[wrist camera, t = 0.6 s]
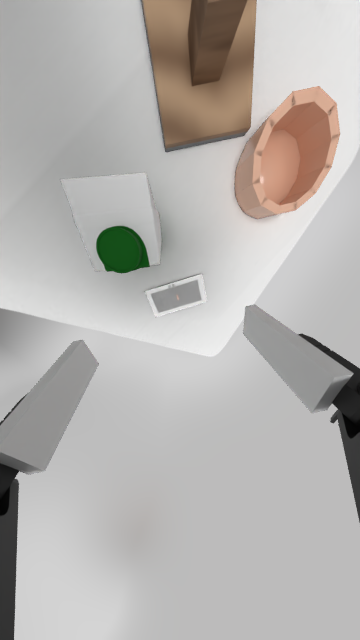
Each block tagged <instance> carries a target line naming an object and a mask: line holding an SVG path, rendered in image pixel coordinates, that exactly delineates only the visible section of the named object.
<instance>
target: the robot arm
mask: <svg viewBox="0 0 360 640" xmlns="http://www.w3.org/2000/svg"><path fill="white" fill-rule="evenodd" d="M243 334H244V335H245V337H246V338H247V339H248V340H249V341H250V342H251V344H252V345H253V346H254V347H255V348H256V349H257V350H258V352H259V353H260V354H261V355H262V356H263V357H264V359H265V360H266V361H267V362H268V363H269V364H270V365H271V366H272V368H273V369H274V370H275V371H276V372H277V374H278V375H279V376H280V377H281V378H282V379H283V381H284V382H285V383H286V384H287V385H288V386H289V387H290V389H291V390H292V391H293V392H294V393H295V394H296V396H297V397H298V398H299V399H300V400H301V401H302V403H303V404H304V405H305V406H306V407H307V408H308V409H309V411H310V412H311V413H315V412H320V411H325V410H327V409H328V408H329V406H330V405H331V404H334V405H335V406H336V407H337V408H338V410H337V411H336V412H335V413H334V415H333V416H332V417H331V421H330V422H331V423H334V422H335V421H336V420H337V419H338V423H339V427H340V432H341V437H342V441H343V446H344V451H345V456H346V460H347V465H348V470H349V474H350V479H351V484H352V488H353V493H354V498H355V502H356V507H357V512H358V516H359V521H360V369H359V368H358V367H357V366H355V365H353V364H352V363H350V362H349V361H347V360H346V359H344V358H343V357H341V356H340V355H338V354H337V353H335V352H333V351H331V350H330V349H329V348H327V347H326V346H323V345H322V344H321V343H320V342H318V341H317V340H315V339H313V338H311V337H309V336H306V335H304V334H296V333H295V332H293V331H292V330H290V329H289V328H288V327H286V326H285V325H283V324H282V323H280V322H279V321H278V320H276V319H275V318H273V317H272V316H270V315H269V314H267V313H266V312H265V311H263V310H262V309H260V308H259V307H257V306H256V305H250V306H246V307H245V318H244V330H243ZM98 365H99V363H98V362H97V360H96V359H95V357H94V356H93V354H92V353H91V351H90V350H89V348H88V347H87V345H86V344H85V342H84V341H83V340H79V341H74V342H73V343H71V345H70V346H69V347H68V348H67V349H66V350H65V352H64V353H63V354H62V355H61V356H60V357H59V358H58V360H57V361H56V362H55V363H54V364H53V365H52V366H51V368H50V369H49V370H48V371H47V372H46V374H45V375H44V376H43V377H42V378H41V379H40V380H39V381H38V383H37V384H36V385H35V386H34V387H33V389H32V390H31V391H30V392H29V393H28V394H27V395H25V396H24V397H23V398H22V399H21V400H20V401H19V402H18V403H17V404H16V405H15V406H14V408H13V409H12V411H11V412H9V413H8V414H7V416H6V417H5V418H4V420H3V421H1V422H0V640H14V620H15V587H16V555H17V554H16V553H17V522H18V521H17V520H18V490H19V483H18V480H17V479H14V478H15V477H16V475H17V473H18V472H19V471H20V472H23V473H26V474H34V473H39V472H43V471H45V469H46V468H47V465H48V464H49V462H50V460H51V458H52V456H53V454H54V452H55V450H56V448H57V446H58V444H59V442H60V440H61V438H62V436H63V434H64V432H65V430H66V428H67V426H68V424H69V422H70V420H71V418H72V416H73V414H74V412H75V410H76V408H77V406H78V404H79V402H80V400H81V398H82V396H83V394H84V392H85V390H86V388H87V386H88V384H89V382H90V380H91V379H92V377H93V375H94V372H95V371H96V369H97V367H98Z"/></svg>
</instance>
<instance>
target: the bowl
mask: <svg viewBox="0 0 360 640" xmlns="http://www.w3.org/2000/svg"><path fill="white" fill-rule="evenodd" d="M339 136H340V129H339V121H338V112H337V104H336V102H335V101H334V100H333V99H332V98H331V97H330V96H329V95H328V94H327V93H326V92H325V91H324V90H323V89H322V88H321V87H319V86H317V87H312V88H307V89H303V90H298V91H293V92H292V93H291V94H290V95H289V96H288V97H287V98H286V99H285V101H284V102H283V103H282V104H281V105H280V106H279V107H278V108H277V109H276V110H275V111H274V112H273V113H272V114H271V115H270V116H269V117H268V118H267V120H266V121H265V122H264V123H263V124H262V126H261V127H260V128H259V129H258V130H257V131H256V133H255V134H254V135H253V136H252V137H251V138H250V140H249V141H248V142H247V143H246V145H245V148H244V150H243V152H242V154H241V157H240V159H239V162H238V165H237V169H236V174H235V194H236V198H237V201H238V204H239V206H240V207H241V209H242V210H243V212H245V213H246V214H247V215H249V216H251V217H254V218H256V219H259V218H264V217H268V216H273V215H278V214H282V213H286V212H290V211H294V210H296V209H298V208H299V207H300V206H301V205H302V204H304V203H305V202H306V201H307V200H308V199H310V198H311V197H312V196H313V195H314V194H315V193H316V192H317V190H318V188H319V187H320V185H321V183H322V182H323V180H324V178H325V177H326V175H327V174H328V172H329V170H330V169H331V167H332V163H333V159H334V155H335V152H336V148H337V144H338V140H339Z"/></svg>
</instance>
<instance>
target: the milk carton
mask: <svg viewBox="0 0 360 640" xmlns="http://www.w3.org/2000/svg"><path fill="white" fill-rule="evenodd" d="M60 181H61V183H62V186H63V189H64V191H65V194H66V197H67V199H68V202H69V204H70V207H71V210H72V212H73V215H72V216H73V219H74V222H75V224H76V227H77V229H78V230H79V233H80V236H81V238H82V241H83V243H84V246H85V248H86V251H87V253H88V256H89V258H90V261H91V263H92V266H93V268H94V271H96V272H100V271H114V272H117V273H127V272H130V271H133V270H137V269H139V268H143V267H150V266H152V265H160V257H161V246H162V236H161V225H160V217H159V213H158V211H157V209H156V206H155V202H154V199H153V196H152V192H151V189H150V185H149V182H148V178H147V174H146V173H132V174H119V175H107V176H94V177H82V178H69V179H60Z"/></svg>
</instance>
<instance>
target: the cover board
mask: <svg viewBox="0 0 360 640" xmlns="http://www.w3.org/2000/svg"><path fill="white" fill-rule="evenodd" d="M256 1H257V0H142V3H143V9H144V15H145V22H146V28H147V34H148V41H149V47H150V53H151V60H152V66H153V72H154V78H155V85H156V91H157V97H158V104H159V110H160V116H161V122H162V129H163V135H164V141H165V148H166V149H167V148H171V147H176V146H181V145H186V144H190V143H195V142H200V141H205V140H209V139H214V138H219V137H224V136H229V135H233V134H238V133H243V132H247V131H248V130H249V129H250V127H251V107H252V86H253V64H254V43H255V22H256Z"/></svg>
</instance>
